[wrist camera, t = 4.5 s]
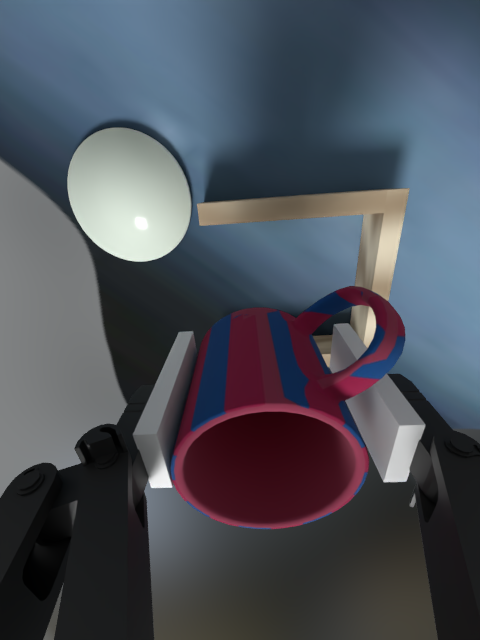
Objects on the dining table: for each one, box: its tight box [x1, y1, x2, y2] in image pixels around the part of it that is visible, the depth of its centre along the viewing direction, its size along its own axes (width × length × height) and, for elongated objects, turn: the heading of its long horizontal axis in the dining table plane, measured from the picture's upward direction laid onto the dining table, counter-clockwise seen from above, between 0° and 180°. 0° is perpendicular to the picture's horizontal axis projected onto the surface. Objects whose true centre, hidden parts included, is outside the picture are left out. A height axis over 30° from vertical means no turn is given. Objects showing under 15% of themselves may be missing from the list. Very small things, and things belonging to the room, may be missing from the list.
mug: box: [170, 286, 405, 529], centre depth 12 cm, size 7×10×7 cm
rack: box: [197, 188, 409, 367], centre depth 24 cm, size 15×15×4 cm
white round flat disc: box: [67, 128, 192, 261], centre depth 22 cm, size 10×10×1 cm
